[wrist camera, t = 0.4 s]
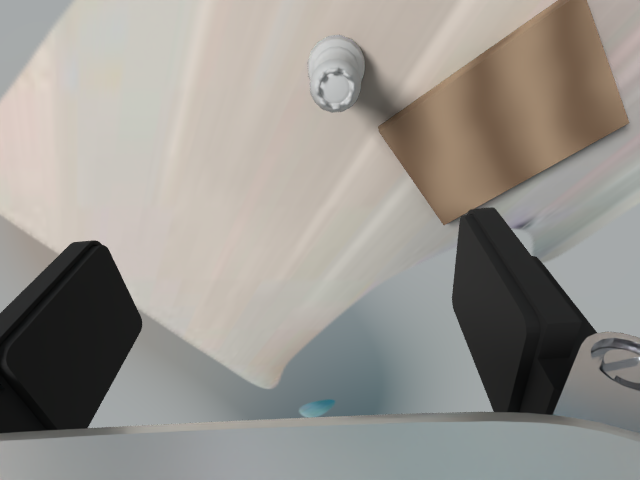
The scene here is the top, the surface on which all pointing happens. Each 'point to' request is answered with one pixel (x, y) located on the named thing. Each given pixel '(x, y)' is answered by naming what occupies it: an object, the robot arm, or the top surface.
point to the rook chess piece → (336, 73)
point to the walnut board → (509, 112)
